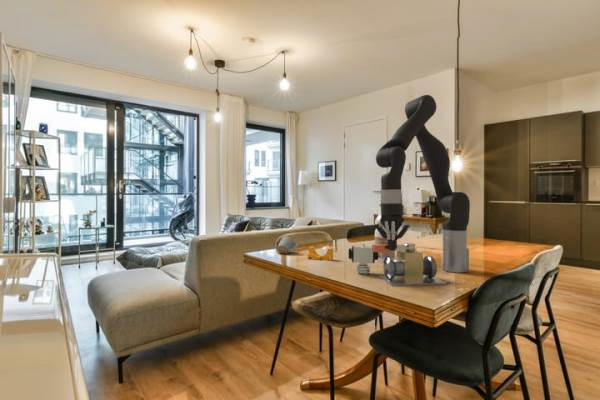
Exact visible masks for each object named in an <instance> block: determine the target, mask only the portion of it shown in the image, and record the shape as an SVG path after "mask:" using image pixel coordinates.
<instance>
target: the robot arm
mask: <svg viewBox="0 0 600 400" xmlns="http://www.w3.org/2000/svg"><path fill="white" fill-rule="evenodd" d="M404 112H405V116H406V119H407V120H406V121H404V122H403V123H402V124H401V125H400V126H399V127H398V128H397V129H396V131H395V132H394V134H393V135H392V136H391V138H390V140H388V141H387V142H386V143H385V144H383V145H382V146H381V147H380V148H379V149H378V151H377V153H376V155H375V163H376V164H377V166H379V168H382V169H387V168H390V170H389V171H388V172H387V173H385V174H382V176H381V179H380V186H381V188H380V191H381V192H380V204H381V219H380V222H379V223H378V224H375V223H374V228H375V230H376V229H377V230H378V232H379V233H380V234H381V236H382V237H383V238H386V239H387V240H388V249H389V250H391V251H395V249H397V245H398V240H399V239H402V238H403V237H404V236H405V234H406V233H407V231H408V230H409V229H410V227H411V225H410V224H407V223H406V222H405V219H404V217H403V214H404V213H403V212H404V211H403V193H402V177H403V172H404V168H405V164H406V161H407V160H406V159H407V157H406V156H407V155H406V152H405V151H407V149H409V147H410V145H411V144H412V141H413V140H414V138H416V140H417V143H418V146H419V148H420V151H421V154H422V157H423V161H424V162H425V165H426V168H427V170H428V173H429V176H430V179H431V181H432V185H433V188H434V191H435V192H434V193H435V195H436V200H437V203H438V206H439V208H440V210H441V211H442V212H443V213H445V214H449V218H448V220H446V221H445V222H443V223H442V270H443V271H445V272H450V273H459V274H460V273H466V272H470V248H468V242H467V241H468V233H467V232H468V226H469V223H470V212H471V211H470V208H471V203H470V198H469V197H468V195H467V194H466V193H465V192H461V191H453V190H452V188H451V185H450V182H449V181H450V180H449V174H450V167H451V160H450V156H449V154H448V151H447V148H446V146H445V144H444V143H443V142H442V141H440V139H438V138H437V137H436V136H434V135H433V134H432V133H430V131H429V130H428V129H427V127H426V125H425V124H426V123H427V122H428V121H429V120H431V118H433V116H434V115H435V113H436V112H437V103H436V100H435V99H434V97H433V96H432V95H429V94H425V95H421V96H419V97H417V98H415V99H413V100H410V101H408V102H407V103H406V104H405V107H404ZM382 225H383V226H382ZM382 227H384V228H385V229H386V232H385V231H384V229H383V228H382ZM400 228H401V230H400V231H399V229H400ZM395 252H396V251H395Z"/></svg>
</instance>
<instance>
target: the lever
mask: <svg viewBox="0 0 600 400" xmlns="http://www.w3.org/2000/svg"><path fill="white" fill-rule="evenodd" d="M371 246H372V251H373V252H390V251H391V250H389V249H388V244H379V245H375V244H372V245H371ZM415 250H416V244H415V243H412V242H406V243H404V242H403V244H397V249H395V252H397V251H415Z"/></svg>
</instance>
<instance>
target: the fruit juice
mask: <svg viewBox="0 0 600 400" xmlns="http://www.w3.org/2000/svg"><path fill="white" fill-rule="evenodd" d="M380 219H381V203H380V204H379V211H378V215H377V217H376V218H375V221H374V225H375V224H378V223H379V222H380ZM382 226H383V225H382ZM382 228H383V229H384V231H385V232H386V229H385V228H384V227H382ZM379 244H388V240H387V239H386V238H383V237H382V236H381V234H380V233H379V232H378V230H377V229H376V228H375V230H374V245H379ZM395 252H396V251H390V252H378V260H375V262H378V263H382V264H384V259H385V258H386V257H391V258H392V259H393V260H396V254H395Z"/></svg>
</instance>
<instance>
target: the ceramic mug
mask: <svg viewBox="0 0 600 400" xmlns="http://www.w3.org/2000/svg"><path fill="white" fill-rule="evenodd" d="M298 248H299V245H298V243H297V242H295V240H294V239H293V238H292V237H290V236H283V237H282V238H281V240H280V242H279V243H278V245H277V247H276V250H277V252H278V253H279V252H280V253H279V254H281V253H289V254H290V253H291V252H294V251H296V250H297V249H298Z"/></svg>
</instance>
